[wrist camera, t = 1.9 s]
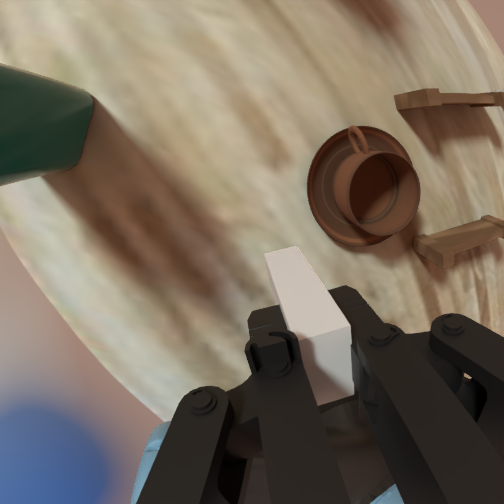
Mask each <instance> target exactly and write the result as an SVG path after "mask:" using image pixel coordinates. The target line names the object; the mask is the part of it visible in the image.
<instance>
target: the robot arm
mask: <svg viewBox="0 0 504 504" xmlns="http://www.w3.org/2000/svg"><path fill="white" fill-rule="evenodd" d="M264 257H265V261H266V266H267V270H268V274H269V279H270V283H271V287H272V291H273V296H274V300H275V304H276V305H275V306H271V307H267V308H263V309H259V310H255V311H252V312H251V314H250V316H249V318H248V327H249V334H250V340H249V341H248V342H247V344H246V346H245V354H246V357H247V360H248V363H249V366H250V369H251V372H252V374H251V375H250V377H249V378H248V379H247V380H246V381H245V382H244V383H243V384H241V385H239V386H237V387H236V388H233V389H231V390H229V391H227V392H225V391H224V390H222V389H221V388H219V387H214V386H204V387H199V388H197V389H194V390H192V391H190V392H189V393H188V394H186V395H185V396H184V397H183V398H182V400H181V401H180V403H179V405H178V407H177V409H176V411H175V414H174V416H173V418H172V421H167V422H164V423H162V424H160V425H158V426H157V427H156V428H155V429H154V430H153V432H152V433H151V435H150V437H149V440H148V442H147V444H146V447H145V450H144V453H143V456H142V459H141V463H140V466H139V469H138V473H137V477H136V481H135V485H134V489H133V494H132V499H131V504H504V337H502V336H500V335H499V334H497V333H495V332H493V331H492V330H490V329H488V328H486V327H484V326H483V325H481V324H479V323H477V322H475V321H473V320H472V319H470V318H468V317H466V316H463V315H461V314H454V313H449V314H443V315H441V316H439V317H437V318H436V319H435V320H434V321H433V322H432V325H431V330H430V331H428V332H421V333H414V334H405V333H404V332H403V331H402V330H401V329H400V328H399V327H397V326H395V325H392V324H389V323H383V321H382V320H381V319H380V318H379V317H378V315H377V314H376V313H375V312H374V311H373V309H372V308H371V307H370V306H369V304H367V302H366V301H365V300H364V299H363V298H362V296H361V295H360V294H359V293H358V291H357V290H355V289H353V288H351V287H349V286H346V285H345V286H341V287H338V288H334V289H331V290H327V289H326V288H325V286H324V285H323V283H322V282H321V280H320V279H319V277H318V276H317V274H316V273H315V271H314V270H313V269H312V267H311V266H310V264H309V263H308V261H307V260H306V258H305V257H304V255H303V254H302V253H301V251H300V250H299V248H298V247H297V246H293V247H289V248H285V249H281V250H277V251H273V252H269V253H265V254H264ZM464 373H466V374H468V375H469V376H470V377H472V378H471V379H468V378H466V377H464Z"/></svg>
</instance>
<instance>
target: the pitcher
mask: <svg viewBox="0 0 504 504" xmlns="http://www.w3.org/2000/svg"><path fill="white" fill-rule="evenodd" d="M92 112H93V100H92V98H91V96H90V94H89V93H88V92H87V91H85V90H84V89H81V88H78V87H75V86H73V85H70V84H67V83H64V82H61V81H58V80H55V79H52V78H49V77H46V76H42V75H39V74H36V73H33V72H29V71H26V70H23V69H19V68H16V67H12V66H9V65H5V64H1V63H0V186H3V185H7V184H11V183H15V182H19V181H23V180H27V179H31V178H35V177H39V176H43V175H48V174H52V173H57V172H62V171H66V170H70V169H71V168H72V167H74V166H75V165H76V164H77V162H78V160H79V159H80V157H81V152H82V148H83V144H84V140H85V136H86V133H87V129H88V125H89V122H90V118H91V115H92Z"/></svg>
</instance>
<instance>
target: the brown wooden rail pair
mask: <svg viewBox="0 0 504 504" xmlns="http://www.w3.org/2000/svg"><path fill="white" fill-rule="evenodd" d="M394 98H395V103H396V107H397V110H403V109H413V108H421V107H430V106H439V105H457V104H471V107H488V106H504V92H490V93H478V94H467V93H439V89H421V90H417V91H412V92H407V93H403V94H399V95H394ZM500 237H501V238H503V239H504V221H503V220H500V219H498V218H495V217H493V216H490V215H486V216H483V217H481V219H480V220H477V221H474V222H471V223H468V224H464V225H461V226H458V227H455V228H451V229H448V230H445V231H441V232H438V233H435V234H431V235H428V236H426V235H424V234H423V235H420V236H416V237H413V243H414V251H416V252H417V253H419V254H421V255H422V256H424V257H425V258H427V259H428V260H430V261H431V262H433V263H434V264H436V265H438V266H439V267H441V268H442V269H445V268H448V267H450V266H453V265H454V255H455V254H457V253H460V252H463V251H466V250H468V249H471V248H474V247H476V246H479V245H482V244H484V243H487V242H490V241H492V240H495V239H497V238H500Z"/></svg>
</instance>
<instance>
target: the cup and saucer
mask: <svg viewBox="0 0 504 504" xmlns="http://www.w3.org/2000/svg"><path fill="white" fill-rule="evenodd" d="M307 195H308V201H309V205H310V209H311V211H312V214H313V216H314V218H315V220H316V221H317V223H318V224H319V226H320V227H321V228H322V229H323V230H324V231H325V232H326V233H327V234H328V235H329V236H330V237H332V238H333V239H335V240H336V241H338V242H340V243H343V244H346V245H350V246H357V247H363V246H371V245H374V244H377V243H380V242H382V241H384V240H386V239H387V238H389V237H390V236H392V235H393V234H395V233H397V232H399V231H401V230H402V229H403V228H405V227H406V226H407V225H408V224H409V223H410V221H411V220H412V219H413V217H414V215H415V213H416V211H417V209H418V206H419V202H420V183H419V179H418V176H417V173H416V171H415V169H414V168H413V165H412V162H411V160H410V157H409V155H408V154H407V152H406V150H405V149H404V147H403V146H402V145H401V144H400V143H399V142H398V141H397V140H396V139H395V138H394V137H393V136H391V135H390V134H388V133H387V132H385V131H383V130H380V129H378V128H374V127H369V126H350V127H349V128H347V129H344V130H342V131H340V132H338V133H336V134H334V135H333V136H331V137H330V138H329V139H328V140H327V141H326V142H325V143H324V144H323V145H322V146H321V147H320V149H319V150H318V151H317V153H316V155H315V157H314V158H313V161H312V163H311V166H310V169H309V173H308V179H307Z"/></svg>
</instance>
